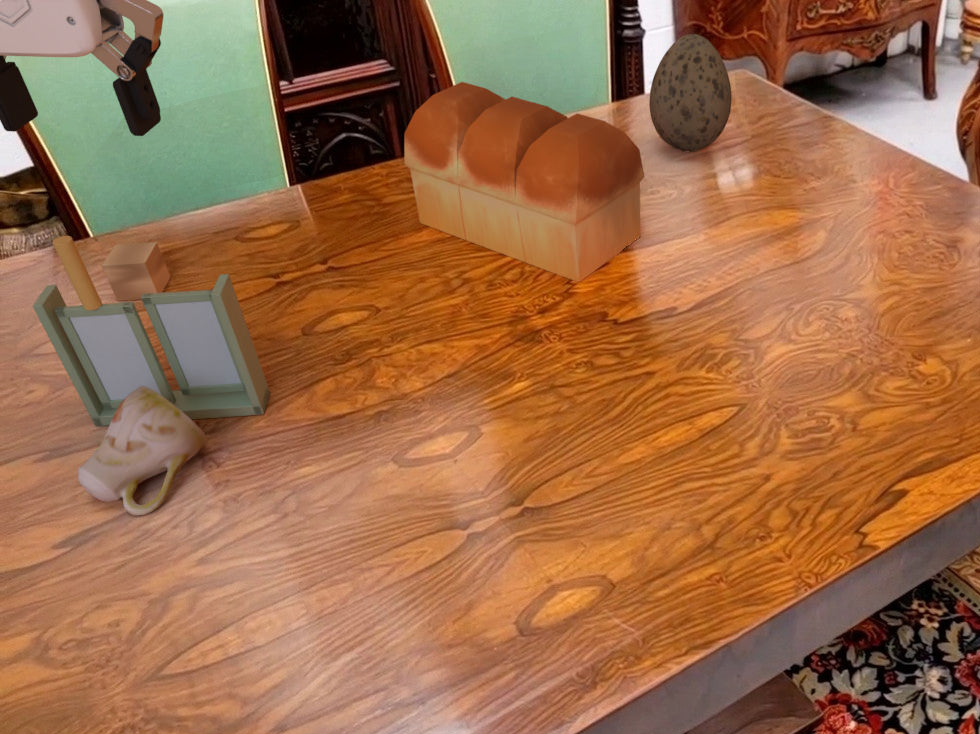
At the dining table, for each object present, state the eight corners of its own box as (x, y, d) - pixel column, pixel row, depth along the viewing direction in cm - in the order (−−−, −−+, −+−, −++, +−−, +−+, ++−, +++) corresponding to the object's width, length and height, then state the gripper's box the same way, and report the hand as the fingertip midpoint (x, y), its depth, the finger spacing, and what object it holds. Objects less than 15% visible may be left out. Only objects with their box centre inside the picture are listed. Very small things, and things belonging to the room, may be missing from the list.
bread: (645, 237, 109) (643, 113, 100) (580, 284, 102) (571, 155, 92) (485, 183, 120) (470, 67, 110) (415, 223, 113) (392, 101, 103)
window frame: (95, 426, 85) (31, 305, 76) (106, 404, 87) (46, 284, 78) (264, 414, 86) (220, 294, 77) (270, 393, 88) (229, 273, 79)
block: (117, 301, 100) (101, 265, 98) (130, 279, 104) (115, 244, 101) (159, 298, 101) (144, 262, 98) (170, 277, 104) (156, 241, 101)
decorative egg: (721, 169, 122) (727, 52, 113) (641, 161, 124) (640, 46, 115) (734, 135, 130) (741, 23, 120) (659, 129, 132) (659, 18, 122)
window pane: (102, 412, 84) (18, 246, 73) (107, 402, 85) (25, 237, 74) (173, 406, 84) (100, 241, 73) (177, 397, 86) (106, 233, 74)
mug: (64, 500, 78) (61, 382, 76) (182, 485, 85) (183, 377, 83) (100, 524, 73) (98, 398, 71) (222, 506, 81) (223, 392, 79)
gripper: (-203, -133, 55) (-59, 144, 67) (72, -130, 54) (172, 152, 65) (-114, -156, 61) (6, 103, 72) (137, -154, 60) (219, 110, 71)
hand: (84, 126), depth 69 cm, fingers open, 9 cm apart
